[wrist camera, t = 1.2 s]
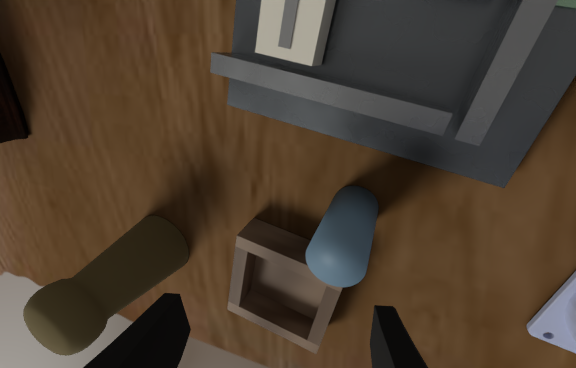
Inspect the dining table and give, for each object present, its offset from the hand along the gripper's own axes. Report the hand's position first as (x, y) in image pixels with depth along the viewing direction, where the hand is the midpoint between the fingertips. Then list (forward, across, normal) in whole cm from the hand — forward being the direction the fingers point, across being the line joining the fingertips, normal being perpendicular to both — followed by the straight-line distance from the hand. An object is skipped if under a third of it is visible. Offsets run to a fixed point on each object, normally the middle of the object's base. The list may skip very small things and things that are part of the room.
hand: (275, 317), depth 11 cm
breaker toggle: (+9, -1, -10) cm, 14 cm away
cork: (+14, +14, +8) cm, 21 cm away
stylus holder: (+10, +1, +8) cm, 13 cm away
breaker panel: (+10, -5, -9) cm, 14 cm away
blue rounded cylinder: (+10, -4, +1) cm, 10 cm away
